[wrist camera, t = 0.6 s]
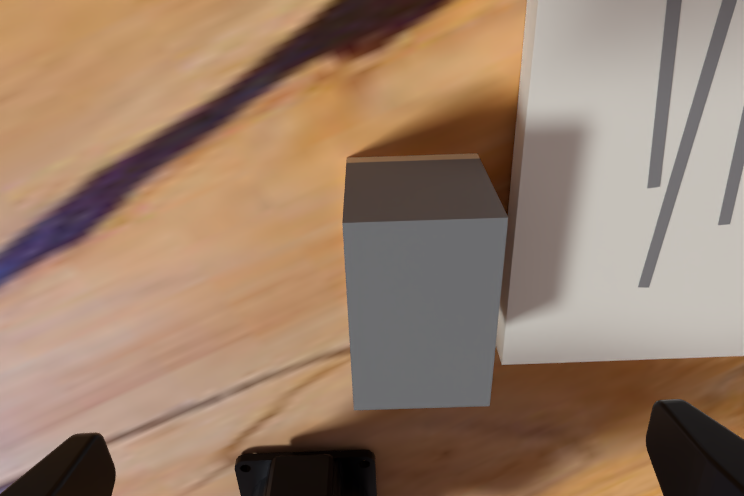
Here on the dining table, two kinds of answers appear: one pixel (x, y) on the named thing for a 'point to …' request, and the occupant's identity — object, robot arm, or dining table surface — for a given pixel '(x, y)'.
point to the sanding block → (422, 280)
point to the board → (626, 184)
